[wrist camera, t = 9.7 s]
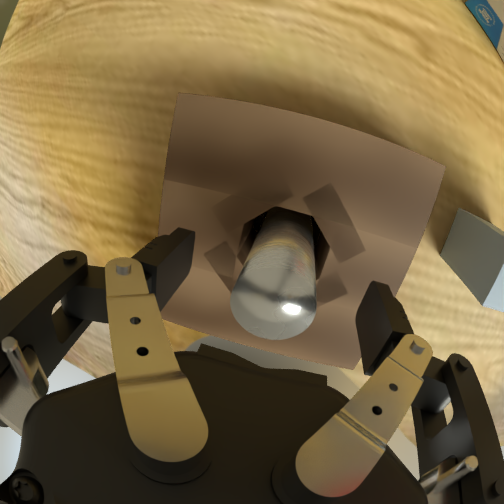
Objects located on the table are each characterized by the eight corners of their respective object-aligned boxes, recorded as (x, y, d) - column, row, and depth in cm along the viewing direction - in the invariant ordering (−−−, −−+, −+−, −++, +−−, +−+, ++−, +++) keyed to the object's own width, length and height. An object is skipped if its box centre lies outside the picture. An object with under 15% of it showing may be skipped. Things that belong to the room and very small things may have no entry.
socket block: (209, 101, 17) (178, 92, 12) (412, 156, 16) (446, 166, 11) (181, 281, 23) (154, 316, 18) (346, 325, 22) (353, 369, 17)
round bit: (271, 195, 19) (238, 257, 10) (317, 207, 19) (328, 281, 10) (260, 238, 20) (224, 327, 11) (304, 250, 20) (301, 347, 11)
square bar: (458, 207, 16) (512, 242, 10) (491, 223, 16) (543, 261, 10) (439, 255, 18) (482, 305, 12) (473, 268, 18) (516, 315, 12)
